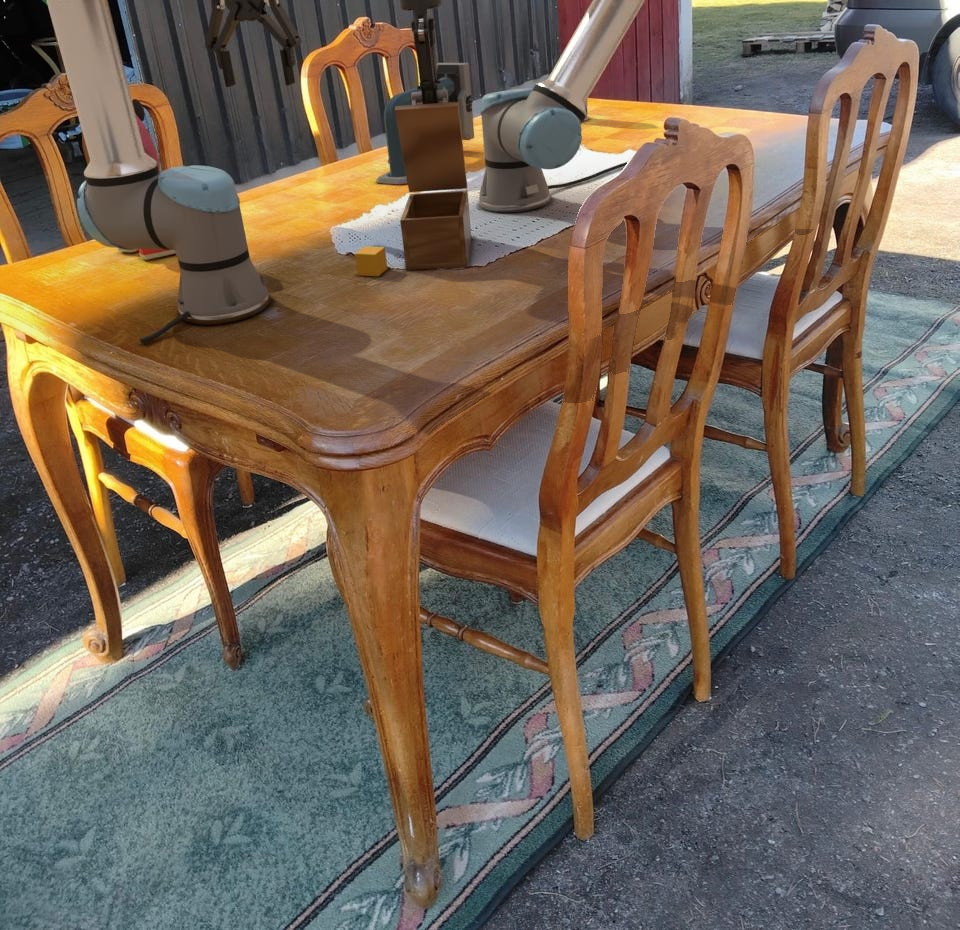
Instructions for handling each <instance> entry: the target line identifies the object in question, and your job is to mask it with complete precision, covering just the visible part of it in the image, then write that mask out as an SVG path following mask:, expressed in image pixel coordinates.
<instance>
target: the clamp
mask: <svg viewBox="0 0 960 930" xmlns="http://www.w3.org/2000/svg"><path fill="white" fill-rule="evenodd" d="M436 72H437V79H441V84H436V85H437V87H438V90H447V91H448V102H447V103H449V102H458V107H459V116H460V125H461V133H462V141H470V140H473V139H474V138H475V128H474V114H473V113H474V112H473V101H472V99H473V98H472V88H471V87H472V86H471V74H470V63H469V62H438V63H436ZM412 92H422V91H421V89H417V86H416V87H413V88H411V89H407V90H404V91H402V92H399V93H397V94H394V95H393V96H392V97H391V98H390V99H389V100H388V102H387V104H386V105H385V107H384V112H383V123H384V132H385V139H386V147H387V156H388V159H387V163H388V165H389V171H388V172H386V173H384V174H381V175H379V176H377V178H376V181H375V182H376V183H377V184H387V185H388V184H389V185H406V184H408V182H407V177H406V171H405V165H404V160H403V154H402V148H401V142H400V137H399V131H398V125H397V120H396V114H395V106H407V105H412V99H411V93H412ZM439 103H443V102H439ZM422 104H423V103H422ZM416 105H421V104H416Z"/></svg>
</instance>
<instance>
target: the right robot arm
mask: <svg viewBox="0 0 960 930" xmlns="http://www.w3.org/2000/svg"><path fill="white" fill-rule="evenodd" d="M645 1H646V0H592V1H591V2H590V5H589V6H588V8H587V9H586V11H585V13H584V15H583V17H582V19H581V20H580V21H579V24H578V25H577V27H576V29H575V30H574V32H573V34H572V36H571V37H570V39H569V41H568V43H567V45H566V46H565V48H564V50H563V51H562V53H561V55H560V56H561V57H560V56H559V59H558V60H557V62H556V63H555V66H554V67H553V69H552V71H551V72H550V74H549V76H548V77H547V79H546V80H543V81H540V82H536V83H535V84H534V86H533V87H526V88H525V87H524V88H516V89H507V90H501V91H495V92H490V93H487V94H485V95H483V96H482V98H481V102H480V109H481V110H480V116H481V126H482V127H481V128H482V129H481V130H482V140H483V154H484V167H485V168H484V173H483V177H482V182H481V186H480V190H479V195H478V196H479V198H478V202H479V207H480V208H482V209H484V210H485V211H490V212H494V213H520V212H521V213H522V212H526V211H532V210H533V211H534V210H536V209H540V208H543V207H544V206H546V205H548V204H549V203H550V202H551V194H550V190H551V189H552V190H553V189H561V188H566V187H571V186H574V185H577V184H580V183H584V182H587V181H589V180H593V179H595V178H597V177H600V176H603V175H605V174H606V173H607V174H608V173H611V172H612V171H615V170H618V169H620V168H624V167H626V166H625V165H626V164H627V162H628V161H625V162H622V163H619V164H617V165H614V166H611V167H608V168H605V169H603V170H600V171H599V172H596V173H593V174H591V175H588V176H585V177H582V178H579V179H575V180H572V181H569V182H564V183H560V184H549V185H548V183H547V180H546V177H545V174H544V172H543V170H556V169H559V168H561V167H564V166H565V165H566V164H568V163H569V162H570V161H571V160H572V159H574V158H575V156H576V155H577V153H578V151H579V149H580V147H581V144H582V141H583V135H582V131H583V127H582V124H583V122H584V119H585V117H586V110H585V102H586V100H587V101H588V99H589V97H590V95H591V93H592V91H593V90H594V89H595V87H596V85H597V84H598V82H599V80H600V78H601V76H602V74H603V73H604V71H605V70H606V67H608V65H609V63H610V61H611V59H612V58H613V56H614V55H615V52H616V51H617V49H618V48H619V45H620V44H621V42H622V40H623V39H624V38H625V36H626V34H627V32H628V30H629V29H630V27H631V25H632V23H633V21H634V20H635V18H636V16H637V15H638V14H639V11H640V9H641V8H642V6H643V5H644V3H645ZM442 5H443V0H399V8H400V9H401V10H402V11H409V12H410V11H414V14H413V15H414V19H412V21H411V22H410V25H411V32H412V34H413V43H414V47H415V50H416V60H417V68H418V76H419V77H418V78H419V85H417V86H416V87H417V89H421V91H422V101H423V104H435V103H439V102H438V99H437V90H438V87H437V85H436V84H441V79H437V72H436V64H437V61H436V48H435V45H436V34H435V33H436V32H435V29H436V21H435V18H434V17H433V18H432V17H431V11H430V9H431V10H432V9H433V10H434V9H437V8H440V7H442Z"/></svg>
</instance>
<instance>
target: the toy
mask: <svg viewBox="0 0 960 930" xmlns="http://www.w3.org/2000/svg"><path fill="white" fill-rule="evenodd" d="M132 103H133V107H134V111H135V115H136V119H137V123H138V127H139V131H140V135H141V139H142V143H143V147H144V151H145V153H146V154H147V155H148V156H150V157H151V158H153V159H154V160H156V161H157V165H158V169H159V173H161V166H160V165H161V164H160V160H159V156H158V152H157V149H156V146H155V143H154V141H153V138H152V136H151V133H150V132H149V130H148V128H147V127H146V125H145V124H144V121H145V119H146V117H145V115H146V113H145V109H144V106H143V104H142V102H140V100H139V99H137V98H133V99H132ZM81 141H82V142H81V143H82V150H83V153H84V157H85V161H86V165H87V166H88V164H89V163H90V157H89V153H88V150H87V146H86V143H85V139H84V135H83V132H82V131H81ZM117 250H118V252H121V253H135V252H139V256H140V257H141V259H143V260H152V259H158V258H162V257H167V256H172V255H176V251H175V250H159V249H133V250H124V249H120V248H117Z"/></svg>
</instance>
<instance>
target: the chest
mask: <svg viewBox="0 0 960 930" xmlns="http://www.w3.org/2000/svg"><path fill="white" fill-rule="evenodd" d="M469 204H470V203H469V192H468V190H467V189H461V190H446V191H430V192H415V193H409V195H408V198H407V201H406V204H405V207H404V208H403V212H402V213H401V214H402V215H401V217H400V222H399V223H400V231H401V238H402V239H401V240H402V249H403V256H404V265H405V270H406V271H415V270H433V269H450V268H465V267H466V268H468V263H469V257H470V250H471V243H472V230H471V229H472V227H471V217H470V215H471V213H470V205H469Z"/></svg>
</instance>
